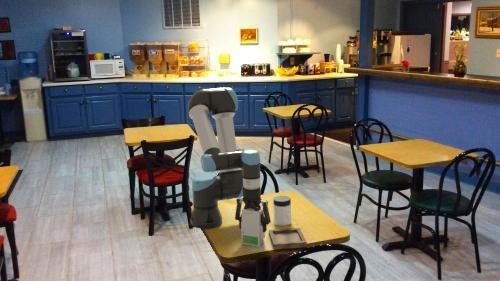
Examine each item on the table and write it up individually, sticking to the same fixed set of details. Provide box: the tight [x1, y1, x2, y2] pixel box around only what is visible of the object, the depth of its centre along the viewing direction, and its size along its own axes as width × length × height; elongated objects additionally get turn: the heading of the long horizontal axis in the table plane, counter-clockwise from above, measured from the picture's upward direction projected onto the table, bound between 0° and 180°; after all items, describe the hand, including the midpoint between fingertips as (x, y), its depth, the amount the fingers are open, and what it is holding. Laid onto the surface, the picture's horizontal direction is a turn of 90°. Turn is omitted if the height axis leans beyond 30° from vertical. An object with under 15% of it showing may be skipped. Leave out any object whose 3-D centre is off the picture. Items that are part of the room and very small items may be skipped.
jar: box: [272, 195, 292, 227], centre depth 220 cm, size 9×8×12 cm
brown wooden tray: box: [268, 227, 308, 250], centre depth 202 cm, size 14×15×2 cm
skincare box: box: [241, 207, 265, 248], centre depth 200 cm, size 8×7×16 cm
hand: (253, 236), depth 201 cm, fingers closed on skincare box, 8 cm apart
